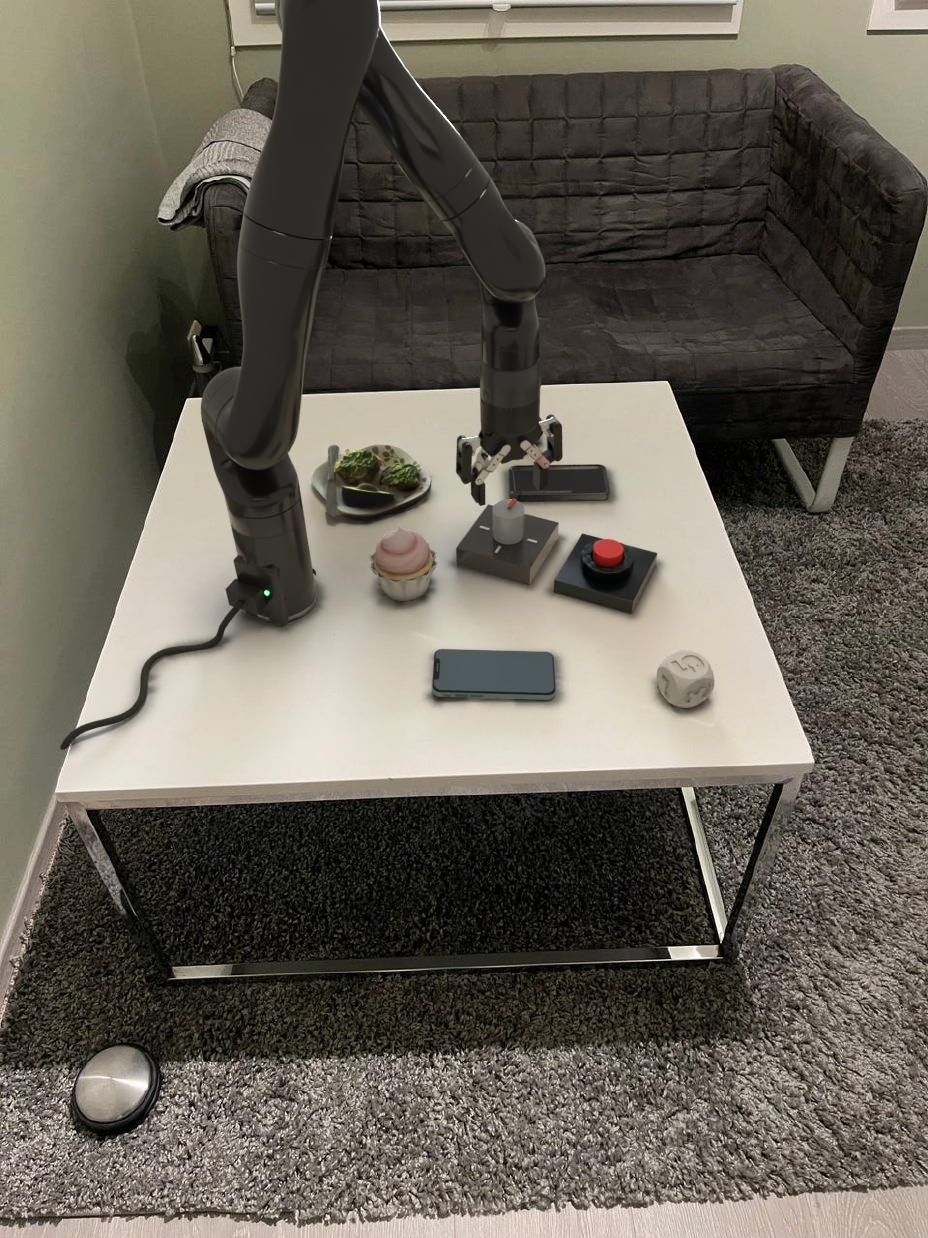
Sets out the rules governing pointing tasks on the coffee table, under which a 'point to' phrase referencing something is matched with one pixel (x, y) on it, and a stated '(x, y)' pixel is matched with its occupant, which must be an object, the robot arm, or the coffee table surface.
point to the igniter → (605, 576)
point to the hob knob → (508, 521)
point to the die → (685, 678)
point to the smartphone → (493, 674)
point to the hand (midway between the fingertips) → (509, 494)
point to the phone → (560, 483)
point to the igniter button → (607, 553)
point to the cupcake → (403, 564)
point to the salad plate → (370, 482)
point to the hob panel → (507, 548)
